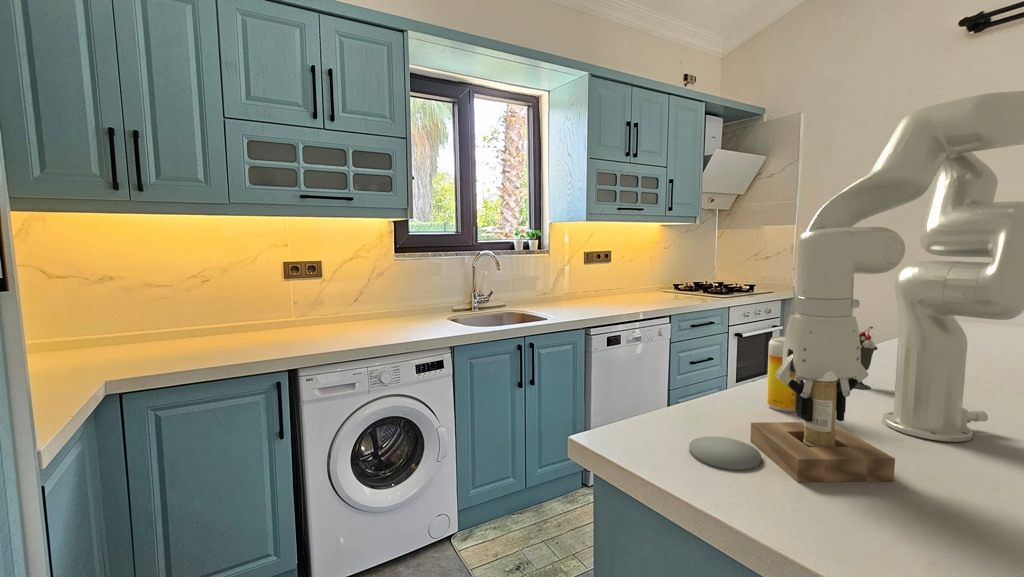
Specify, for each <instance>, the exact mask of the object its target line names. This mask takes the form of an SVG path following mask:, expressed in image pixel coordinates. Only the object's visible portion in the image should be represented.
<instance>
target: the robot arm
mask: <svg viewBox="0 0 1024 577" xmlns="http://www.w3.org/2000/svg"><path fill="white" fill-rule="evenodd" d="M1022 145H1024V90H1014V91H999V92H998V91H997V92H989V93H988V92H987V93H981V94H976V95H972V96H968V97H962V98H958V99H954V100H949V101H945V102H941V103H936V104H932V105H928V106H924V107H922V108H918V109H915V110H914V111H911V112H910V113H908V114H907V115H905V117H903V119H901V121H899V123H898V125H897V126H896V128H895V129H894V131H893V133H892V135H891V136H890V138H889V140H888V141H887V143H886V144H885V147H883V149H882V152H881V153H880V155H879V157H877V160H876V161H875V162H874V165H873V166H872V168H871V170H870V171H869V172H868V174H866V175H865V176H862V178H860V179H858V180H857V181H854V182H853V183H852V184H851V185H849V186H847V187H846V188H845V189H843V190H842V191H840V192H838V193H837V194H836V195H835V196H833V197H832V198H830V199H829V200H828V201H826V203H825V204H823V206H821V207H820V209H819V210H818V211H817V212H816V214H815V215H814V216H813V219H812V220H811V222H810V224H809V225H808V227H807V229H806V230H805V231H803V232H802V233H801V234H800V235H799V237H798V240H797V257H796V258H797V262H796V264H797V266H796V292H795V294H796V296H795V298H796V299H795V300H796V301H795V302H796V303H795V304H796V305H795V314H790V316H789V319H788V323H787V326H786V330H785V334H784V337H785V340H784V348H783V360H782V366H781V367H780V368H779V370H778V371H777V372H776V374H775V377H776V378H778V379H779V380H781V381H782V382H784V383H785V384H786V385H787V386H789V387H790V388H791V389H792V391H793V392H794V393H796V403H795V411H794V412H796V416H797V417H799V418H800V419H802V420H803V421H804V420H805V421H806V422H811V421H812V415H813V399H812V398H810V397H809V395H810V391H811V387H812V384H813V380H816V379H821V378H823V376H824V375H825V374H826V373H827V372H829V371H832V372H834V373H835V375H836V378H838V380H837V384H836V385H837V390H836V392H837V393H836V421H838V422H844V421H845V414H846V403H847V402H846V400H847V398H848V397H849V396H850V395H851V391H852V390H853V389H855V388H854V387H855V386H856V385H857V384H858V382H861V381H862V382H863V381H864V380H865V379H867V378H868V377H869V372H868V370H865V368H864V367H863V365H862V364H861V363H860V362H861V350H860V336H859V334H860V329H859V326H858V321H857V317H856V316H855V315H854V316H853V314H854V309H856V308H859V307H860V300H858V299H854V286H855V285H854V284H855V283H854V282H855V274H860V275H861V274H862V275H864V274H865V275H879V274H884V273H887V272H889V271H891V270H893V269H895V268H897V266H899V264H901V262H902V260H903V259H904V257H905V255H906V254H905V253H906V245H905V241H904V239H903V237H902V236H901V235H900V234H899V233H898V232H897V231H895V230H893V229H890V228H888V227H883V226H857V227H856V225H857V224H858V223H860V222H862V221H864V220H866V219H869V218H871V217H873V216H876V215H879V214H881V213H884V212H887V211H891V210H894V209H896V208H899V207H901V206H904V205H907V204H910V203H911V202H914V201H916V200H917V199H919V198H921V197H922V196H923V195H925V194H926V193H927V191H928V189H929V188H930V187H931V184H932V182H933V189H932V192H931V196H930V199H929V203H928V207H927V210H926V213H925V218H924V221H923V224H922V228H921V232H920V237H919V241H920V242H919V243H920V245H921V248H922V249H923V251H924V252H926V253H928V254H930V255H932V256H933V255H934V256H939V257H953V258H954V257H956V258H958V257H959V258H992V261H990V262H984V261H983V262H981V261H980V262H979V261H976V262H975V261H958V260H957V261H955V260H953V261H952V260H924V261H916V262H912V263H910V264H908V265H906V266H904V267H903V268H901V270H899V272H898V273H897V275H896V277H895V280H894V292H895V298H896V304H897V311H898V341H897V351H896V352H897V355H896V365H895V366H896V368H895V381H894V382H895V384H894V396H893V397H894V399H893V411H887V412H885V413H884V414H882V422H883V423H884V424H885V425H886V426H887V427H889V428H891V429H893V430H895V431H898V432H900V433H904V434H905V435H910V436H912V437H917V438H920V439H926V440H931V441H937V442H946V443H947V442H949V443H951V442H952V443H962V442H966V441H970V440H971V439H972V438H973V431H972V429H971V428H970V427H969V426H968V425H967V424H970V423H971V422H987V421H988V419H989V416H988V414H987V412H985V411H983V410H970V411H969V410H968V409H966V408H965V407H963V401H964V392H965V391H964V390H965V380H966V379H965V378H966V367H967V366H966V365H967V355H968V338H967V334H966V333H965V332H966V331H965V330H964V329H963V328H962V326H961V324H960V323H959V321H958V320H957V319H956V317H957V316H959V317H965V318H977V319H985V320H986V319H987V320H995V321H997V320H999V321H1005V320H1012V319H1015V318H1017V317H1019V316H1021V314H1023V313H1024V201H1021V200H1019V201H1018V200H1013V201H1011V200H1010V201H995V196H996V192H997V188H998V183H999V180H998V177H997V175H996V173H995V172H994V170H992V169H991V168H990V166H988V164H986V163H985V162H984V161H982V159H980V158H979V157H978V156H977V155H975V153H974V152H980V151H987V150H994V149H1000V148H1001V149H1002V148H1007V147H1008V148H1009V147H1014V146H1022ZM955 316H956V317H955ZM790 373H796V376H795V380H793V379H792V378H791V377H790Z"/></svg>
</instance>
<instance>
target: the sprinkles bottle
mask: <svg viewBox="0 0 1024 577" xmlns="http://www.w3.org/2000/svg"><path fill="white" fill-rule="evenodd" d="M837 380H838V378H836V375H835V373H834V372H832V371H829V372H827V373H826V374H825V375H824V376H823V378H821V379H816V380H813V384H812V387H811V391H810V395H809V397H810V398H812V399H813V415H812V421H811V422H806V421H805V420H803V422H804V439H803V443H804V444H805V445H806V446H808V447H836V444H835V429H836V425H837V419H836V393H837V392H836V390H837V385H836V384H837Z"/></svg>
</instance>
